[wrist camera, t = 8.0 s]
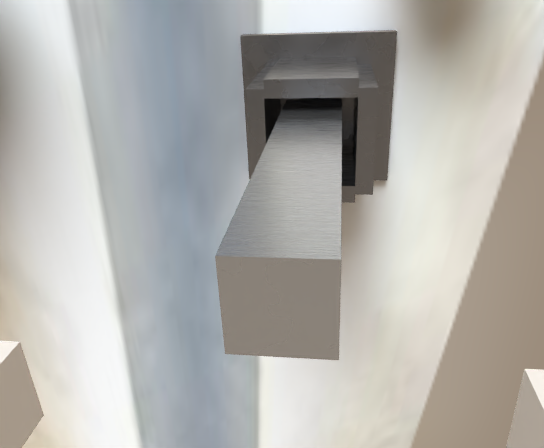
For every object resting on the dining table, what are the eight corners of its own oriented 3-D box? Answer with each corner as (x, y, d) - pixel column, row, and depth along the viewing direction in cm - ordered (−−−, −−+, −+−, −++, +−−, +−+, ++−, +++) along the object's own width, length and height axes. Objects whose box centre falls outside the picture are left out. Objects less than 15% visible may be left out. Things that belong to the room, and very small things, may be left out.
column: (288, 159, 39) (226, 367, 18) (286, 99, 37) (215, 256, 16) (340, 159, 38) (338, 373, 18) (341, 98, 36) (341, 259, 16)
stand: (251, 175, 46) (223, 235, 35) (242, 34, 40) (206, 55, 30) (386, 176, 44) (400, 239, 33) (395, 30, 39) (415, 50, 28)
